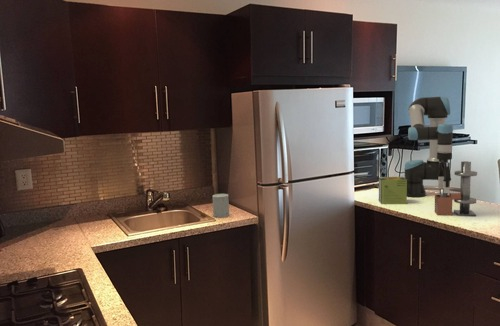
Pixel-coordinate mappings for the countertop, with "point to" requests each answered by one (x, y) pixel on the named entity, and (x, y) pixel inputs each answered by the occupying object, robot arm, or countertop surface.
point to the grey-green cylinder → (220, 205)
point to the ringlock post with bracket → (458, 195)
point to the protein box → (393, 190)
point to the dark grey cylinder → (443, 193)
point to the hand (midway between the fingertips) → (443, 190)
